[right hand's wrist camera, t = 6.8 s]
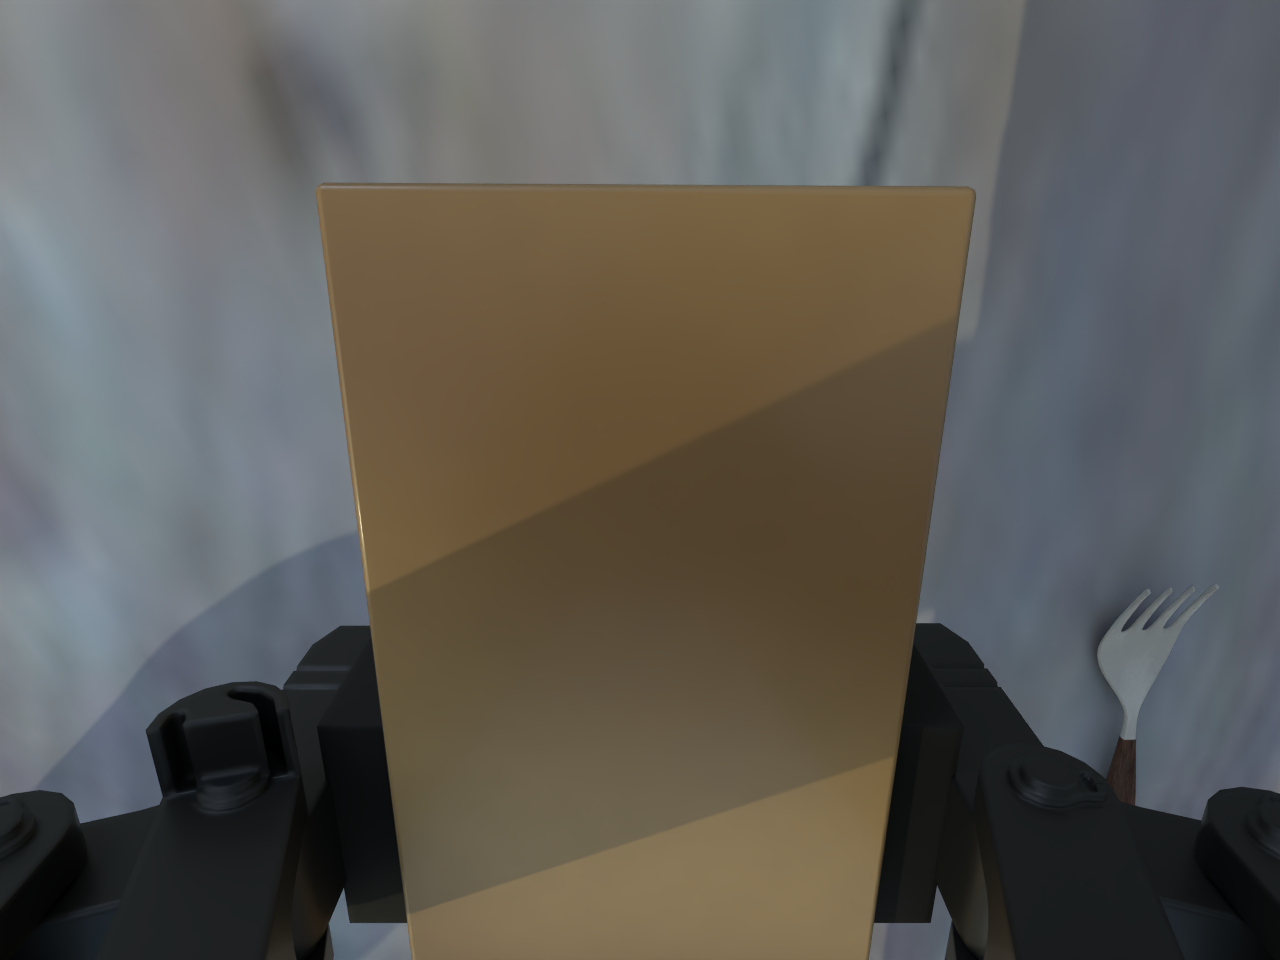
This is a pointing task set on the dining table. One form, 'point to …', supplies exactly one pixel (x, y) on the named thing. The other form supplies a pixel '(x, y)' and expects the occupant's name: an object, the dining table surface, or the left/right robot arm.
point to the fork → (1138, 673)
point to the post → (643, 548)
